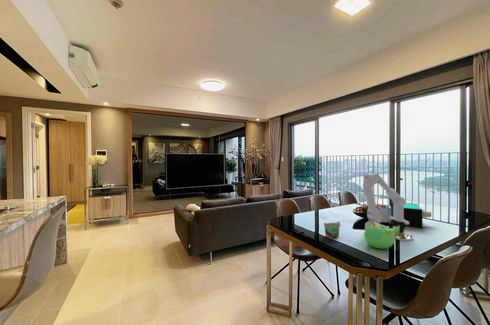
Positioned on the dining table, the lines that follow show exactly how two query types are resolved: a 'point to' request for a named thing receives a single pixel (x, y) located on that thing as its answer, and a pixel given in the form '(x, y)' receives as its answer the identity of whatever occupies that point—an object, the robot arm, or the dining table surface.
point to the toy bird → (380, 235)
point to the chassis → (404, 237)
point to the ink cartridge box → (385, 213)
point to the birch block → (398, 230)
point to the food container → (332, 229)
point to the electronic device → (414, 215)
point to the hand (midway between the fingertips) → (398, 231)
